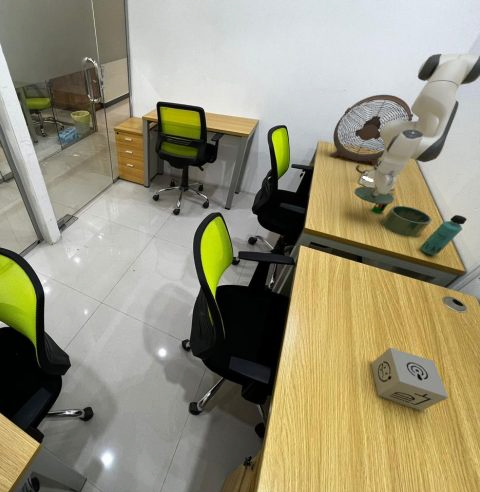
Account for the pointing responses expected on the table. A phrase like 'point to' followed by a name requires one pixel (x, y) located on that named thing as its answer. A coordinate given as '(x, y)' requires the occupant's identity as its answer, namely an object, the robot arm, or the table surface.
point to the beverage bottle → (443, 235)
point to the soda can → (380, 207)
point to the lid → (368, 196)
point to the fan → (367, 128)
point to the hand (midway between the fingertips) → (374, 193)
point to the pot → (406, 221)
